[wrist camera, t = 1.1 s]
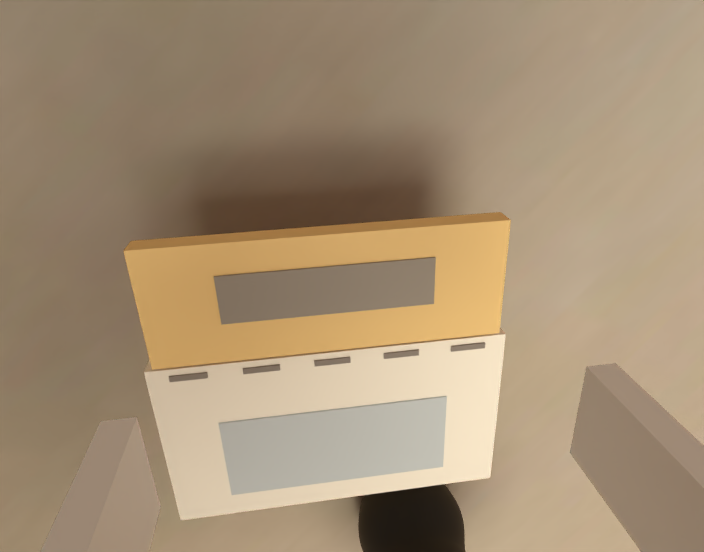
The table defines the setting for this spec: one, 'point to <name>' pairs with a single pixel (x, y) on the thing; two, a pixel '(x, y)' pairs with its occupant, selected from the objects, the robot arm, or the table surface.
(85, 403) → the table surface
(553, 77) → the table surface
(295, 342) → the tan flat board
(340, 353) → the cream box
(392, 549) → the cola bottle
